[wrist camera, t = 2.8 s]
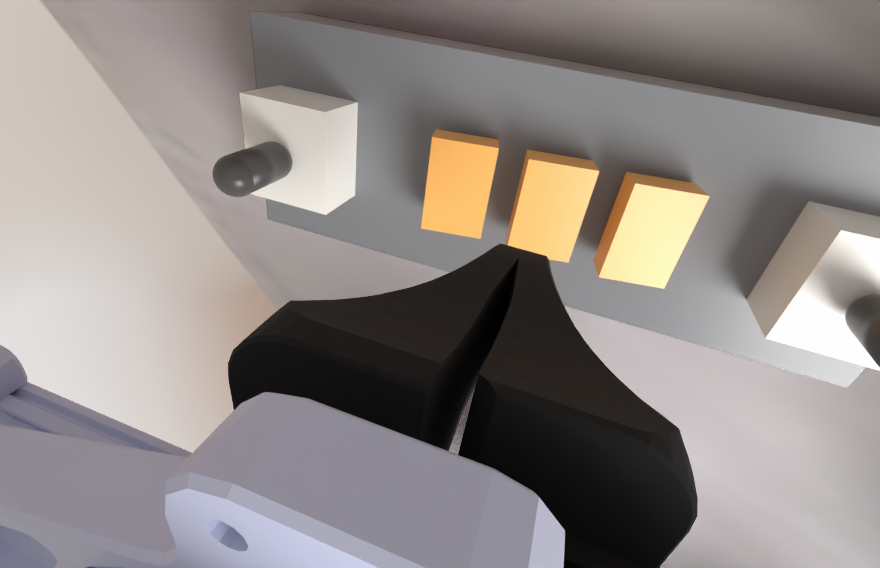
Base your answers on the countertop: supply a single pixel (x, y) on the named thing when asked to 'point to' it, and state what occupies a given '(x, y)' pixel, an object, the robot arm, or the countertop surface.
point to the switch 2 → (648, 229)
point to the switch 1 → (458, 183)
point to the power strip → (586, 137)
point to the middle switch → (551, 204)
